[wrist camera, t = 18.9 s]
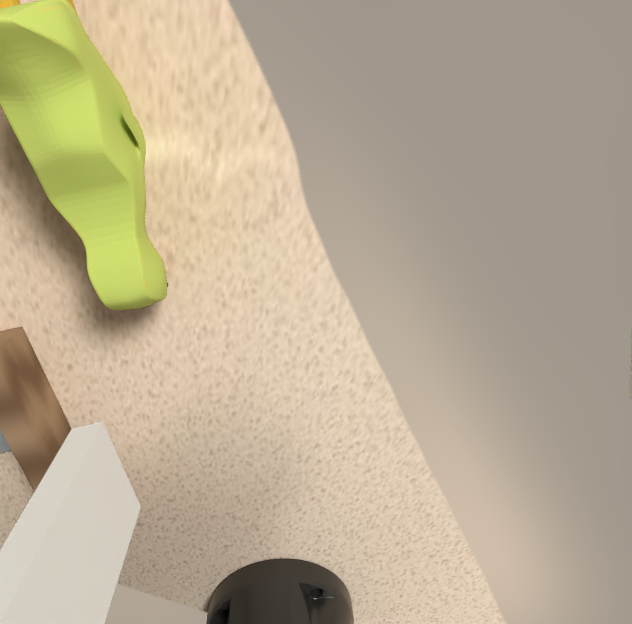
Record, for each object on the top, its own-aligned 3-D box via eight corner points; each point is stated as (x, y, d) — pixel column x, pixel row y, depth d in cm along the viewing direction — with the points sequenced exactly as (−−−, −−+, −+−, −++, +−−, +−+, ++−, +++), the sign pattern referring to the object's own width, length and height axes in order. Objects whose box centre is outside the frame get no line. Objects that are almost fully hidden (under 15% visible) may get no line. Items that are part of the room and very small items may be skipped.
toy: (62, 56, 40) (123, 314, 41) (-115, -107, 24) (-6, 331, 24) (142, 38, 40) (201, 296, 41) (22, -137, 24) (126, 302, 24)
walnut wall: (112, 515, 50) (96, 559, 45) (92, 520, 50) (74, 564, 45) (22, 326, 42) (-9, 355, 37) (-3, 332, 42) (-37, 362, 37)
